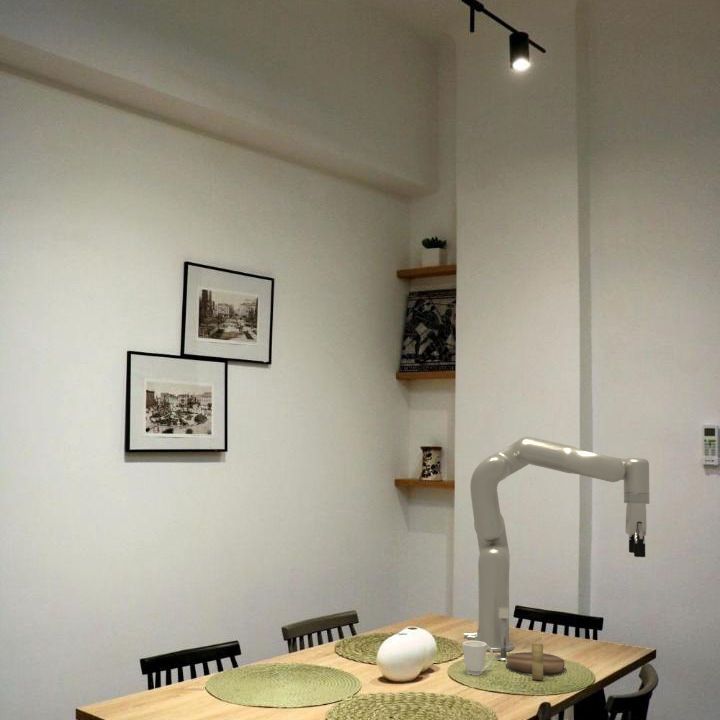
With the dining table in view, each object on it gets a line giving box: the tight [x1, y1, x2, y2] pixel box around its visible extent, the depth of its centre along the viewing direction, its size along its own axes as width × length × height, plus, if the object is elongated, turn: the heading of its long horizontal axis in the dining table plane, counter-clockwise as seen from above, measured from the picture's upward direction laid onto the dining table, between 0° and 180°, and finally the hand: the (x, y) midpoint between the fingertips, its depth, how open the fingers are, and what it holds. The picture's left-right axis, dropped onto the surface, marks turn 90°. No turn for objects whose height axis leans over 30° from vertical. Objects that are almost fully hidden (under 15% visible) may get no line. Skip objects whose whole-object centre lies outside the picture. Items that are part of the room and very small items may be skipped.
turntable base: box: [505, 662, 567, 677], centre depth 244 cm, size 17×17×1 cm
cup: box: [461, 640, 494, 676], centre depth 239 cm, size 7×10×8 cm
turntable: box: [506, 642, 565, 681], centre depth 241 cm, size 22×16×9 cm
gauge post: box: [494, 607, 510, 661], centre depth 254 cm, size 5×5×15 cm
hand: (636, 554), depth 262 cm, fingers open, 9 cm apart
